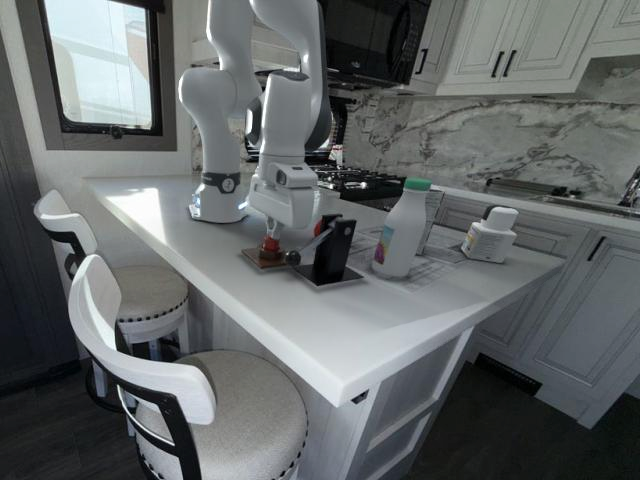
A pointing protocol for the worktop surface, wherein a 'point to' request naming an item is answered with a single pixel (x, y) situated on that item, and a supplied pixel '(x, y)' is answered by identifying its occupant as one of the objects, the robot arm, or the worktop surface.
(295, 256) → the lever
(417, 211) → the milk bottle
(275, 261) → the button block
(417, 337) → the worktop surface
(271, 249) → the button
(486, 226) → the container
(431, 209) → the candy bar box
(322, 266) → the bracket
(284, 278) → the worktop surface
